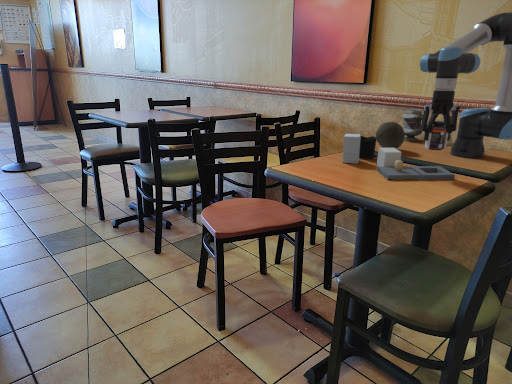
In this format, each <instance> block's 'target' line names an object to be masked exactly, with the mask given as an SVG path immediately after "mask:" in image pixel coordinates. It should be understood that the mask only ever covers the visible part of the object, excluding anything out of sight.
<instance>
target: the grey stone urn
mask: <svg viewBox="0 0 512 384" xmlns="http://www.w3.org/2000/svg"><path fill="white" fill-rule="evenodd" d="M422 118H423V110H422V109H419V108H418V109H416V108H415V109H414V108H412V109H406V110H405V113H403V114H402V119H403V126H402V128H403V130H404V133H405V138H404V141H403V142H409V143H412V142H413V143H414V142H419V141H420V139H419V138H417V136H420V135H421V134H423V131H422V130H420V128H421V123H422Z"/></svg>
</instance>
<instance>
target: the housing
mask: <svg viewBox="0 0 512 384" xmlns="http://www.w3.org/2000/svg"><path fill="white" fill-rule="evenodd" d="M377 151H378V152H377V158H376V159H377V161H376V165H377V167H378V166H395V161H396V160H400V161H402V151H401V150H398V148H397V149H395V148H383V147H378V150H377Z"/></svg>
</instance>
